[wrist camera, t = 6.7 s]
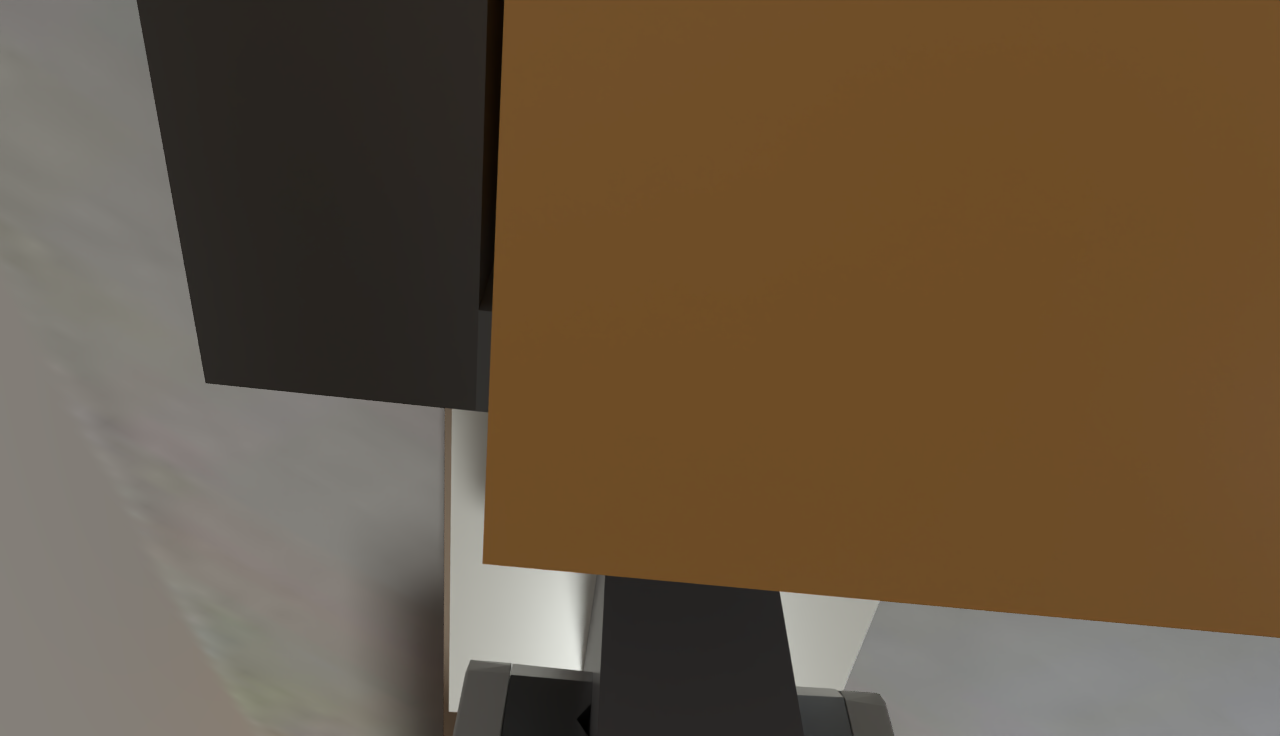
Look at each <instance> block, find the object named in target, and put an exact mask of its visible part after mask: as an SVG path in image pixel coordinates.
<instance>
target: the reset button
mask: <svg viewBox="0 0 1280 736" xmlns="http://www.w3.org/2000/svg"><path fill="white" fill-rule="evenodd" d="M482 564H488V565H499V566H510V567H521V568H531V569H542V570H553V571H564V572H575V573H586V574H596V575H607V576H618V577H629V578H640V579H650V580H661V581H672V582H683V583H694V584H704V585H715V586H726V587H737V588H748V589H758V590H769V591H780V592H791V593H802V594H812V595H823V596H834V597H845V598H856V599H866V600H877V601H888V602H899V603H910V604H920V605H931V606H942V607H953V608H964V609H974V610H985V611H996V612H1007V613H1018V614H1028V615H1039V616H1050V617H1061V618H1072V619H1083V620H1093V621H1104V622H1115V623H1126V624H1137V625H1147V626H1158V627H1169V628H1180V629H1191V630H1201V631H1212V632H1223V633H1234V634H1245V635H1255V636H1266V637H1277V638H1280V0H504V21H503V47H502V73H501V98H500V124H499V150H498V175H497V201H496V227H495V252H494V278H493V304H492V329H491V355H490V381H489V406H488V432H487V458H486V483H485V509H484V535H483V560H482Z"/></svg>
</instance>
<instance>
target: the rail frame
mask: <svg viewBox="0 0 1280 736" xmlns="http://www.w3.org/2000/svg"><path fill="white" fill-rule="evenodd" d="M137 5H138V10H139V16H140V21H141V27H142V32H143V38H144V43H145V49H146V55H147V60H148V66H149V71H150V77H151V82H152V88H153V93H154V99H155V104H156V110H157V116H158V121H159V127H160V132H161V138H162V143H163V149H164V154H165V160H166V165H167V171H168V177H169V182H170V188H171V193H172V199H173V204H174V210H175V215H176V221H177V227H178V232H179V238H180V243H181V249H182V254H183V260H184V265H185V271H186V276H187V282H188V288H189V293H190V299H191V304H192V310H193V315H194V321H195V326H196V332H197V337H198V343H199V349H200V354H201V360H202V365H203V371H204V376H205V382H206V383H210V384H219V385H229V386H239V387H248V388H258V389H267V390H277V391H287V392H296V393H306V394H315V395H325V396H335V397H344V398H354V399H363V400H373V401H383V402H392V403H402V404H411V405H421V406H430V407H440V408H445V497H444V712H443V736H453V731H454V726H455V721H456V716H457V712H449V642H450V544H451V445H452V409H459V410H469V411H478V412H488V406H489V381H490V355H491V329H492V304H493V278H494V252H495V227H496V201H497V175H498V150H499V124H500V98H501V73H502V47H503V21H504V0H137Z"/></svg>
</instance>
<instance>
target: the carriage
mask: <svg viewBox="0 0 1280 736" xmlns="http://www.w3.org/2000/svg"><path fill="white" fill-rule="evenodd" d="M487 432H488V412H478V411H469V410H459V409H452V445H451V544H450V642H449V712H458V707H459V702H460V697H461V692H462V687H463V682H464V677H465V672H466V670H467V667H468V665H469V662H470V660H481V661H493V662H505V663H512V665H513V664H523V665H532V666H542V667H552V668H561V669H571V670H581V671H590V672H593V688H592V704H591V710H590V717H589V723H588V730H587V736H804V732H803V726H802V720H801V714H800V708H799V702H798V696H797V690H796V686H800V687H815V688H831V689H836V690H837V691H843V690H844V687H845V685H846V682H847V680H848V677H849V675H850V673H851V670H852V668H853V665H854V663H855V660H856V658H857V656H858V653H859V651H860V648H861V646H862V643H863V641H864V638H865V636H866V634H867V631H868V629H869V626H870V624H871V621H872V619H873V616H874V614H875V612H876V609H877V607H878V604H879V602H880V601H877V600H866V599H856V598H845V597H834V596H823V595H812V594H802V593H791V592H780V591H769V590H758V589H748V588H737V587H726V586H715V585H704V584H694V583H683V582H672V581H661V580H650V579H640V578H629V577H618V576H607V575H596V574H586V573H575V572H564V571H553V570H542V569H531V568H521V567H510V566H499V565H488V564H482V560H483V535H484V509H485V483H486V458H487Z"/></svg>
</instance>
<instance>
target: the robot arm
mask: <svg viewBox="0 0 1280 736" xmlns="http://www.w3.org/2000/svg"><path fill="white" fill-rule="evenodd" d="M592 688H593V672H590V671H581V670H571V669H561V668H552V667H542V666H532V665H523V664H513V665H512V663H505V662H493V661H481V660H470V662H469V665H468V667H467V670H466V672H465V677H464V682H463V687H462V692H461V697H460V702H459V707H458V712H457V716H456V721H455V726H454V731H453V736H587V730H588V723H589V717H590V710H591V704H592ZM796 690H797V696H798V702H799V708H800V714H801V720H802V726H803V732H804V736H894V732H893V729H892V725H891V721H890V718H889V714H888V710H887V707H886V703H885V701H884V700H883V698H882V697H881V696H880V694H877V693H871V692H855V691H837V690H836V689H831V688H815V687H800V686H796Z"/></svg>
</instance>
